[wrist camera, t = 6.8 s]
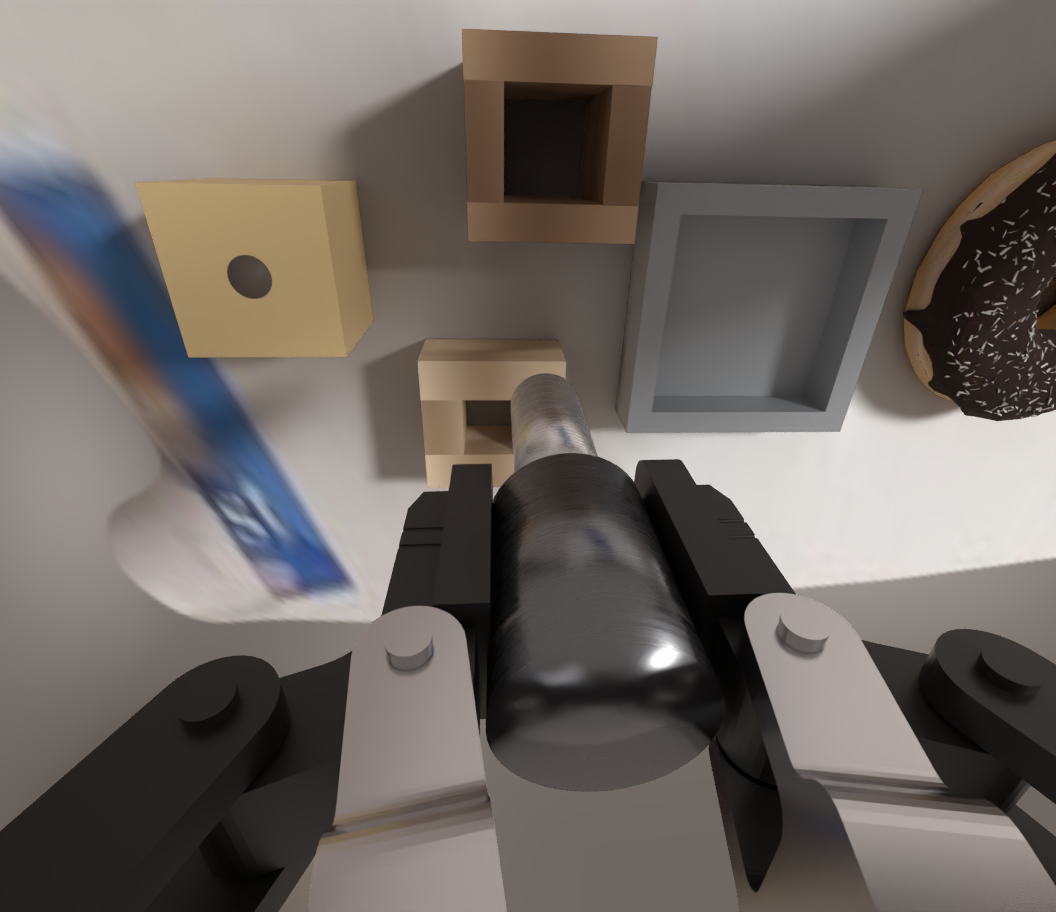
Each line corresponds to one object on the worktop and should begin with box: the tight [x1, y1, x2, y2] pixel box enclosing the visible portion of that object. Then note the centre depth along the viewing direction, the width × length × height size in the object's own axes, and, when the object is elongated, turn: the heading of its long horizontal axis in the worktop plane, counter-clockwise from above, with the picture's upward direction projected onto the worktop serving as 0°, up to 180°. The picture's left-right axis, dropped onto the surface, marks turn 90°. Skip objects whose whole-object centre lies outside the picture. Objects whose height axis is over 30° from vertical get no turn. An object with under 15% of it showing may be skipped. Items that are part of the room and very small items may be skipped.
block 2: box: [462, 29, 658, 244], centre depth 18 cm, size 6×6×5 cm
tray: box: [615, 181, 923, 433], centre depth 23 cm, size 10×10×2 cm
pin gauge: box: [486, 373, 725, 792], centre depth 10 cm, size 3×3×9 cm
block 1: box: [135, 178, 373, 357], centre depth 20 cm, size 6×6×5 cm
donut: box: [903, 140, 1056, 421], centre depth 23 cm, size 11×12×4 cm
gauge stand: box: [417, 339, 566, 488], centre depth 24 cm, size 6×6×3 cm
